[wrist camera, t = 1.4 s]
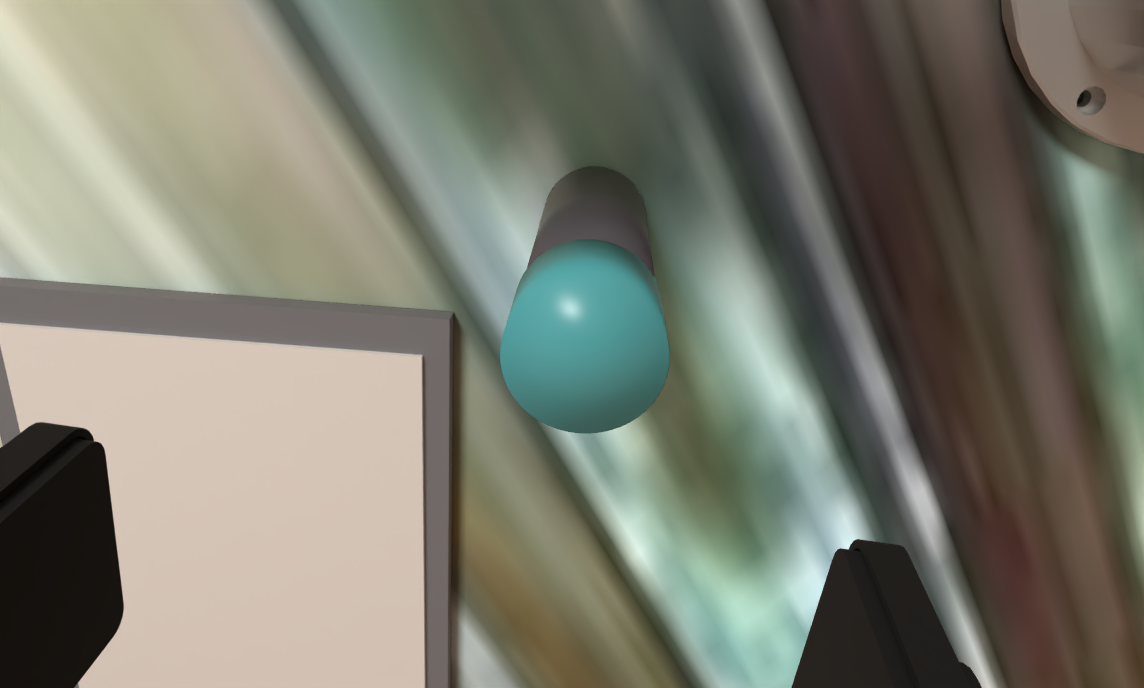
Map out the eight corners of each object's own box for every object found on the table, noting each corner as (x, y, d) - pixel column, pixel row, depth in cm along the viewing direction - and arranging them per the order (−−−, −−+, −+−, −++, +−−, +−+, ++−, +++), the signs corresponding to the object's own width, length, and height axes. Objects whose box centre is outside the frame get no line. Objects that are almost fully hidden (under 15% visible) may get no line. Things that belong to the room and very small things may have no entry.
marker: (653, 167, 29) (679, 285, 18) (643, 272, 31) (659, 439, 20) (543, 159, 29) (502, 272, 18) (538, 264, 31) (497, 427, 20)
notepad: (453, 311, 32) (448, 321, 31) (450, 766, 41) (446, 785, 40) (-22, 275, 32) (-41, 284, 31) (86, 736, 42) (74, 753, 41)
